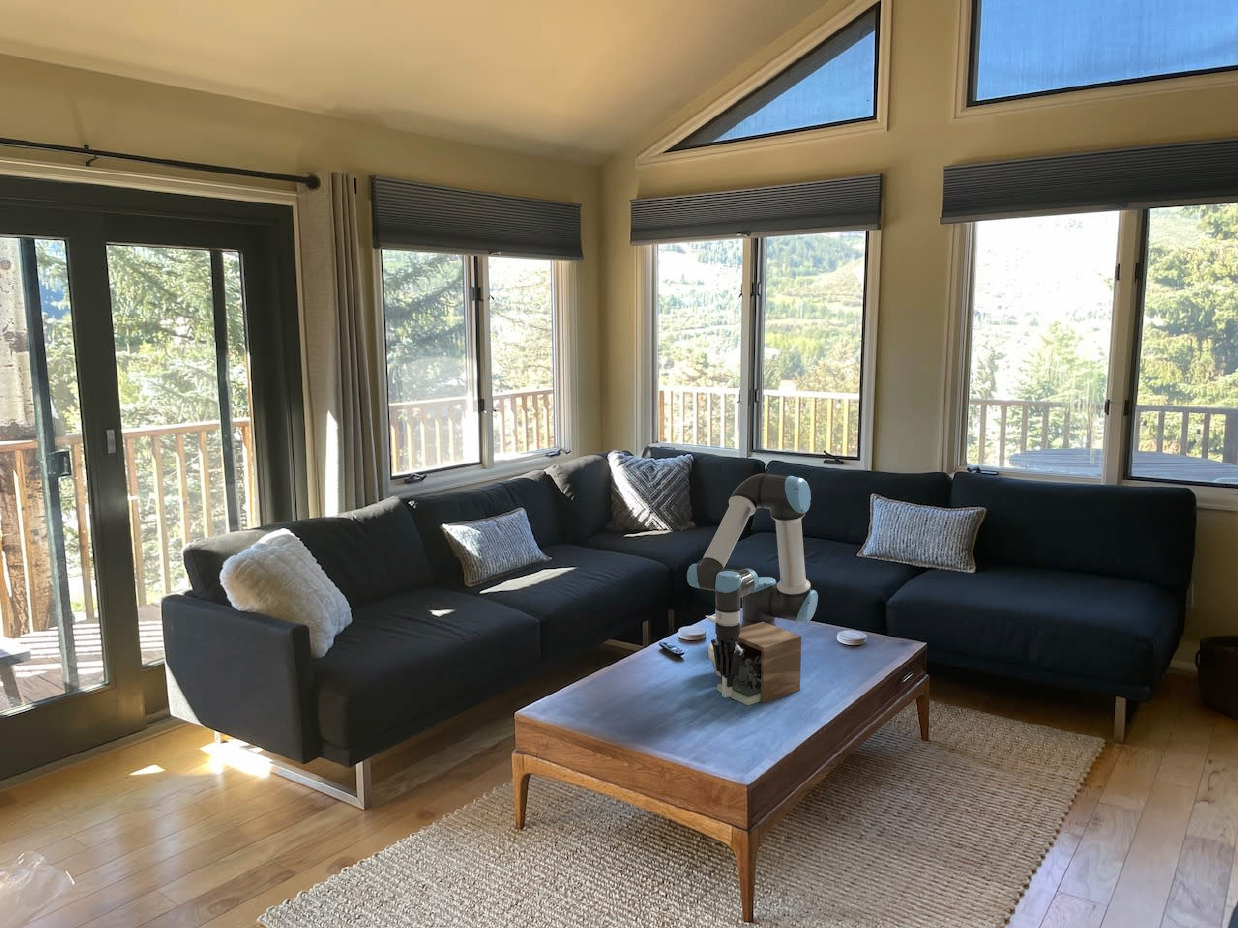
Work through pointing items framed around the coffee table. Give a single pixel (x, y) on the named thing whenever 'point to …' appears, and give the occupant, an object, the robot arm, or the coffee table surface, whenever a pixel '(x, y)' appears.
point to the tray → (740, 697)
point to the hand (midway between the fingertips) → (726, 695)
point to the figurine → (748, 678)
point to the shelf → (773, 658)
